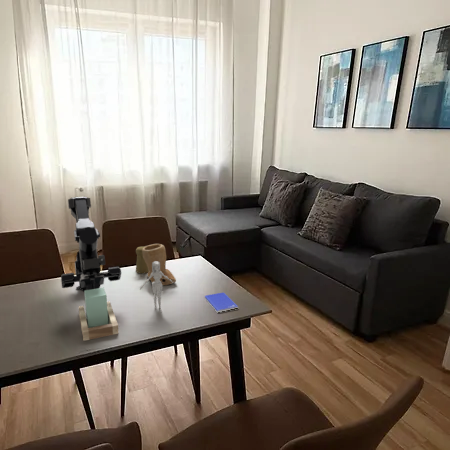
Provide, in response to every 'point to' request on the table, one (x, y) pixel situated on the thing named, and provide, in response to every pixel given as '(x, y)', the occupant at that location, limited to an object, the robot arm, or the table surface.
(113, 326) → the chute
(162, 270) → the tan hollow piece
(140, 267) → the cork
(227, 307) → the hard drive
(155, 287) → the human figurine
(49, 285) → the table surface
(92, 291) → the sage block
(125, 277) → the table surface
